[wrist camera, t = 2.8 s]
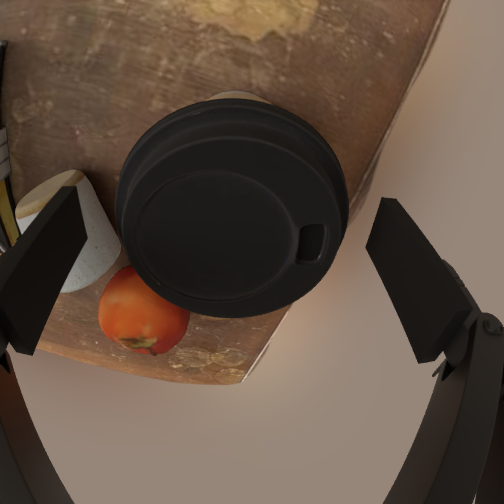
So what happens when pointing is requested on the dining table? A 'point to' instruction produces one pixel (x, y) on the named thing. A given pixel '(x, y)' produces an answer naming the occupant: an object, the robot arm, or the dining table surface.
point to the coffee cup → (231, 207)
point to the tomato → (140, 315)
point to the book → (6, 189)
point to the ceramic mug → (96, 223)
